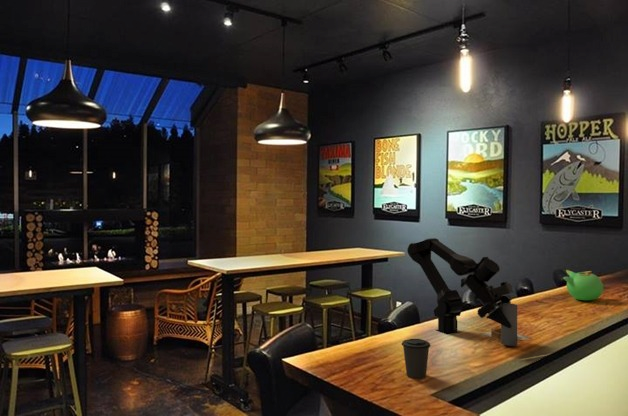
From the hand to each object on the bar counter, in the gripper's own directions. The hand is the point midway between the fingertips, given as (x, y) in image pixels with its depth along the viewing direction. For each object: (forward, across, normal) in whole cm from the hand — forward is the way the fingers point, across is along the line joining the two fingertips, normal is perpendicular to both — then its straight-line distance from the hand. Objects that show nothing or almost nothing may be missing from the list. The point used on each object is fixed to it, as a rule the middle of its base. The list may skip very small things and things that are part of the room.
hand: (513, 325), depth 160 cm
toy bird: (+6, +103, +5) cm, 103 cm away
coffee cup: (-3, -43, +14) cm, 46 cm away
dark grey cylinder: (+3, 0, +5) cm, 6 cm away
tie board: (0, +12, +10) cm, 16 cm away
